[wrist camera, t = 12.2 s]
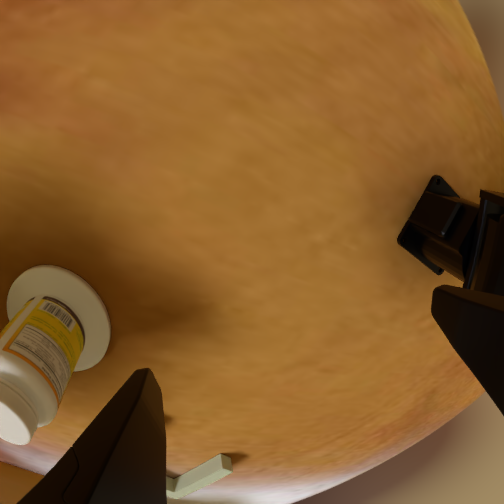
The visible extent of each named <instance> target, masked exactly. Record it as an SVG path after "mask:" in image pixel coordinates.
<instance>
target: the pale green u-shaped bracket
mask: <svg viewBox="0 0 504 504" xmlns="http://www.w3.org/2000/svg"><path fill="white" fill-rule="evenodd" d="M232 472H233V469H232V463H231V458H230V457H227V456H225V455H223V454H221V453H220V454H219V455H217V456H215V457H214V458H212V459H210V460H208V461H207V462H205V463H203V464H201V465H199V466H198V467H196V468H194V469H192V470H190V471H188V472H187V473H185V474H183V475H181V476H179V477H177V478H175V479H172V478H170V477H167V476H166V495H167V496H168V497H171V498H173V499H176V500H177V499H179V498H181V497H184V496H186V495H188V494H190V493H193V492H195V491H197V490H199V489H201V488H203V487H205V486H207V485H209V484H211V483H213V482H215V481H217V480H219V479H221V478H223V477H225V476H227V475H229V474H231V473H232Z"/></svg>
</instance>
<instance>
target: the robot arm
mask: <svg viewBox="0 0 504 504" xmlns="http://www.w3.org/2000/svg"><path fill="white" fill-rule="evenodd" d="M436 180H437V183H436ZM480 198H481V199H480V205H479V204H476V203H473V202H470V201H467V200H464V199H461V198H460V197H459V196H458V195H457V194H456V193H455V192H454V191H453V189H452V188H451V187H450V186H449V185H448V184H447V183H446V182H445V181H444V180H443V178H442V177H440V176H438V175H434V176H433V177H432V178H431V180H430V182H429V183H428V185H427V187H426V189H425V191H424V193H423V194H422V196H421V198H420V200H419V202H418V203H417V205H416V207H415V209H414V210H413V212H412V214H411V215H410V217H409V219H408V221H407V222H406V224H405V226H404V227H403V229H402V231H401V232H400V234H399V236H398V238H397V242H398V244H399V245H400V246H402V247H403V248H404V249H406V250H407V251H408V252H409V253H411V254H412V255H413V256H414V257H416V258H417V259H418V260H419V261H421V262H422V263H423V264H424V265H426V266H427V267H428V268H429V269H431V270H432V271H433V272H434V273H436V274H437V275H441V274H442V273H443V272H444V270H445V271H447V272H448V273H450V274H452V275H453V276H455V277H456V278H458V279H459V280H461V281H463V282H464V284H463V287H462V288H460V287H455V286H450V285H441V286H439V287H436V288H435V289H434V290H433V296H432V305H431V313H432V316H433V318H434V319H435V321H436V322H437V324H438V325H439V327H440V328H441V330H442V331H443V333H444V334H445V336H446V337H447V339H448V340H449V342H450V344H451V345H452V347H453V348H454V349H455V351H456V352H457V353H458V355H459V356H460V357H461V359H462V360H463V361H464V362H465V364H466V365H467V366H468V368H469V369H470V370H471V371H472V373H473V374H474V375H475V377H476V378H477V379H478V381H479V382H480V383H481V385H482V386H483V388H484V389H485V390H486V392H487V393H488V394H489V396H490V397H491V399H492V400H493V401H494V403H495V404H496V406H497V407H498V408H499V410H500V411H501V413H502V414H503V416H504V193H499V192H494V191H488V190H482V189H480ZM403 238H405V239H404V241H403V242H402V240H403ZM439 268H440V269H439ZM72 446H73V447H70V448H69V450H68V451H67V452H66V453H65V454H64V456H63V457H62V458H61V459H60V460H59V461H58V462H57V464H56V465H55V466H54V467H53V468H52V469H51V470H50V471H49V472H48V473H47V474H46V475H45V476H44V477H43V478H42V479H41V480H40V481H39V482H38V483H37V484H36V485H35V486H34V487H33V488H32V489H31V490H30V491H29V492H28V493H27V494H26V495H25V496H24V497H23V498H22V499H21V500H20V501H18V502H17V503H16V504H167V495H166V431H165V422H164V412H163V401H162V392H161V389H160V387H159V385H158V383H157V381H156V379H155V377H154V375H153V372H152V371H151V369H149V368H144V369H138V370H136V371H135V372H134V373H133V374H132V375H131V376H130V378H129V379H128V380H127V381H126V382H125V383H124V385H123V386H122V387H121V388H120V389H119V390H118V392H117V393H116V394H115V395H114V396H113V397H112V399H111V400H110V401H109V402H108V403H107V405H106V406H105V407H104V408H103V409H102V410H101V412H100V413H99V414H98V415H97V416H96V418H95V419H94V420H93V421H92V422H91V424H90V425H89V426H88V427H87V428H86V429H85V431H84V432H83V433H82V434H81V435H80V437H79V438H78V439H77V440H76V441H75V443H74V444H73V445H72Z"/></svg>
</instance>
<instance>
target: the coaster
mask: <svg viewBox="0 0 504 504" xmlns="http://www.w3.org/2000/svg"><path fill="white" fill-rule="evenodd" d="M42 294H48V295H53V296H56V297H58V298H61V299H62V300H64V301H66V302H67V303H68V304H69V305H71V306H72V307H73V308H74V309H75V311H76V312H77V313H78V315H79V316H80V318H81V320H82V322H83V324H84V328H85V333H86V341H85V345H84V348H83V351H82V353H81V355H80V357H79V359H78V362H77V364H76V366H75V369H74V371H82V370H86V369H89V368H91V367H93V366H94V365H96V364H97V363H98V362H99V361H100V360H101V359H102V358H103V356H104V355H105V353H106V350H107V348H108V345H109V342H110V337H111V324H110V318H109V315H108V312H107V310H106V307H105V305H104V303H103V301H102V300H101V298H100V297H99V295H98V294H97V293H96V291H95V290H94V289H93V288H92V287H91V286H90V285H89V284H88V283H87V282H86V281H85V280H84V279H82V278H81V277H80V276H78V275H76V274H75V273H73V272H71V271H69V270H67V269H65V268H62V267H59V266H54V265H38V266H35V267H32V268H30V269H28V270H26V271H25V272H23V273H22V274H21V275H20V276H19V277H18V278H17V279H16V280H15V281H14V283H13V284H12V286H11V288H10V290H9V293H8V297H7V313H8V318H9V322H10V321H11V319H12V318H13V317H14V316H15V315H16V314H17V312H18V311H19V310H20V309H21V308H22V307H23V305H24V304H25V303H26V302H27V301H28V300H29V299H31V298H32V297H34V296H37V295H42Z"/></svg>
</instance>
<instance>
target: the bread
mask: <svg viewBox="0 0 504 504" xmlns="http://www.w3.org/2000/svg"><path fill="white" fill-rule="evenodd" d="M43 477H44V475H41V474H37V473H34V472H31V471H28V470H25V469H22V468H19V467H16V466H13V465H10V464H7V463H4V462H1V461H0V504H16V503H17V502H18V501H20V500H21V499H22V498H23V497H24V496H25V495H26V494H27V493H28V492H29V491H30V490H31V489H32V488H33V487H34V486H35V485H36V484H37V483H38V482H39V481H40V480H41V479H42V478H43Z"/></svg>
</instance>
